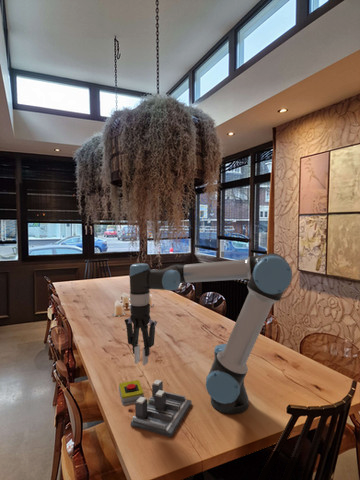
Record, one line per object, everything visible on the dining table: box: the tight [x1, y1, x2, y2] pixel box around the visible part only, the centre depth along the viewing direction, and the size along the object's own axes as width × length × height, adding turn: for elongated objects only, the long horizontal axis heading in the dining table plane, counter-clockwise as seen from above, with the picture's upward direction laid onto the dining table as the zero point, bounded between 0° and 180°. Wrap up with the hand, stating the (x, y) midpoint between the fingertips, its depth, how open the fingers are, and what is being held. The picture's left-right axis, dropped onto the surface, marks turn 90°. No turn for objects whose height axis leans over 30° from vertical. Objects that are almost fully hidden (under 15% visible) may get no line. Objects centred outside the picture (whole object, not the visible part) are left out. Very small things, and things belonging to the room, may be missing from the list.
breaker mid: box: [155, 390, 167, 411], centre depth 110 cm, size 3×4×7 cm
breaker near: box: [134, 396, 148, 419], centre depth 105 cm, size 3×4×7 cm
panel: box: [130, 391, 193, 438], centre depth 109 cm, size 16×20×3 cm
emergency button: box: [117, 379, 145, 406], centre depth 124 cm, size 9×4×15 cm
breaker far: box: [151, 379, 164, 397], centre depth 117 cm, size 3×4×7 cm
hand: (141, 362), depth 112 cm, fingers open, 3 cm apart
